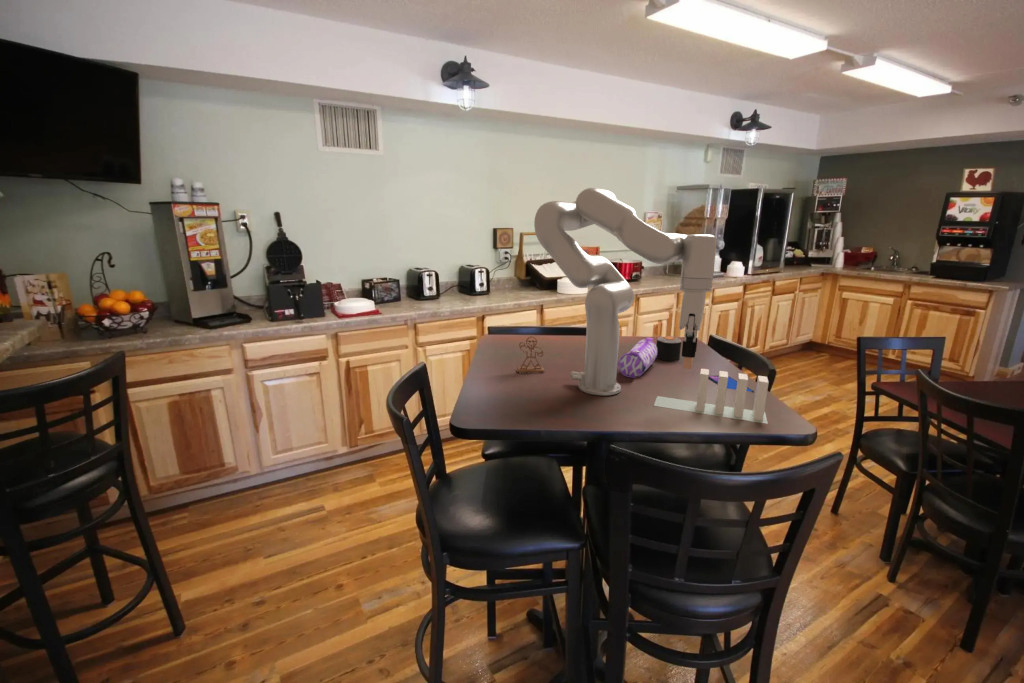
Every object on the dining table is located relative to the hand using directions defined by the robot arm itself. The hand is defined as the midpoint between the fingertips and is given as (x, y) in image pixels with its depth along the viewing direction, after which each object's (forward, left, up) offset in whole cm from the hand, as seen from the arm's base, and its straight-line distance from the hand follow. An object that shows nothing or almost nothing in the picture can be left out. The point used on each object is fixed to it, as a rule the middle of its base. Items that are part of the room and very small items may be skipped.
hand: (688, 353), depth 121 cm
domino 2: (+4, 0, -14) cm, 15 cm away
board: (+6, 0, -16) cm, 17 cm away
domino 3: (+9, 0, -14) cm, 17 cm away
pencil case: (-17, +31, -16) cm, 39 cm away
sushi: (-9, +51, -16) cm, 54 cm away
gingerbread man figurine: (-49, +13, -16) cm, 53 cm away
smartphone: (+12, +28, -16) cm, 34 cm away
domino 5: (+18, 0, -14) cm, 23 cm away
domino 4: (+13, 0, -14) cm, 20 cm away
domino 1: (0, 0, -3) cm, 3 cm away
